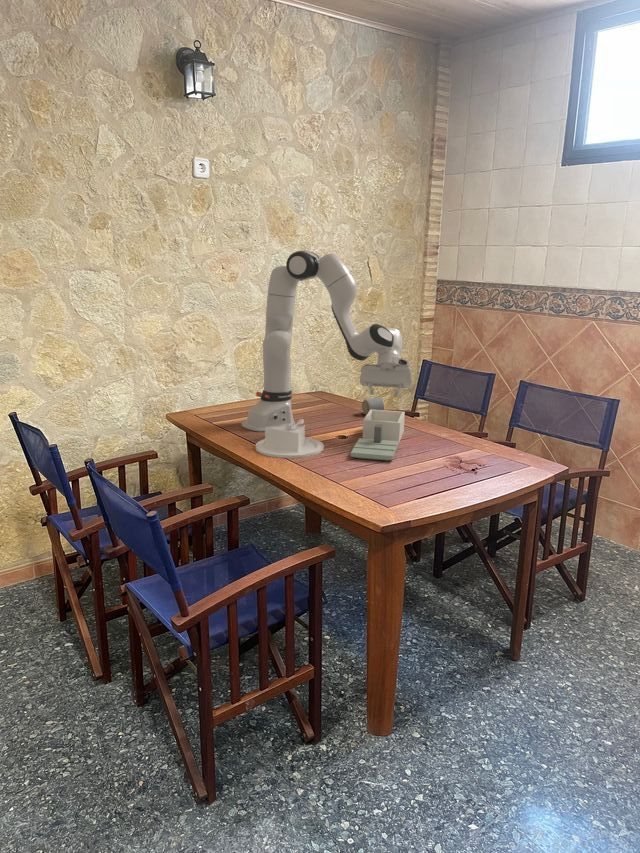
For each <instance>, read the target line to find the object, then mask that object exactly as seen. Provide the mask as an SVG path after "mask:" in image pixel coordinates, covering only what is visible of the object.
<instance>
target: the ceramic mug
mask: <svg viewBox="0 0 640 853" xmlns="http://www.w3.org/2000/svg"><path fill="white" fill-rule="evenodd" d="M370 409H371V410H385V403H384V400H383V398H382V397H381V396H377V397H370V398H365V399H364V400H362V403H361V410H362V412H363V414H364V415H365V416H366V415H367V414H368V412H369V411H370Z"/></svg>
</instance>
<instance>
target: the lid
mask: <svg viewBox="0 0 640 853" xmlns="http://www.w3.org/2000/svg"><path fill="white" fill-rule="evenodd" d="M382 426H383V425H381V424H376V425H375V428H374V439H365V438H363V437H362V438H361V437H359V438H358V439H357V441H356V443H355V444H354V446H353V448H352V449H351V452H350V457H352V458H356V459H363V460H374V461H375V460H376V461H385V462H387V461H393V459H394V458H395V454H396V452H397V450H398V447H399V443H398V441H391V440H382Z"/></svg>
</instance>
